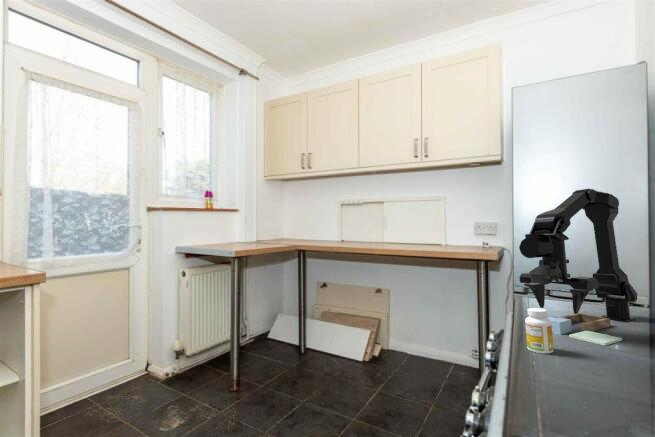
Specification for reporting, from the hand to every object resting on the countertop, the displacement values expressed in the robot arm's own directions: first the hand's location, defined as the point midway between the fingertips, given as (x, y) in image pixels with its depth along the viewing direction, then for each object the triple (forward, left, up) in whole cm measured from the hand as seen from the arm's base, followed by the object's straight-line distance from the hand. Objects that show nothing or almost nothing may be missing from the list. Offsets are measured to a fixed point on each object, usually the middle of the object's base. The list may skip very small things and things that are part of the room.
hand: (558, 310), depth 93 cm
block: (0, 0, -6) cm, 6 cm away
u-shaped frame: (-10, 0, -6) cm, 12 cm away
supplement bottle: (+20, +7, -6) cm, 22 cm away
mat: (0, +9, -6) cm, 10 cm away
